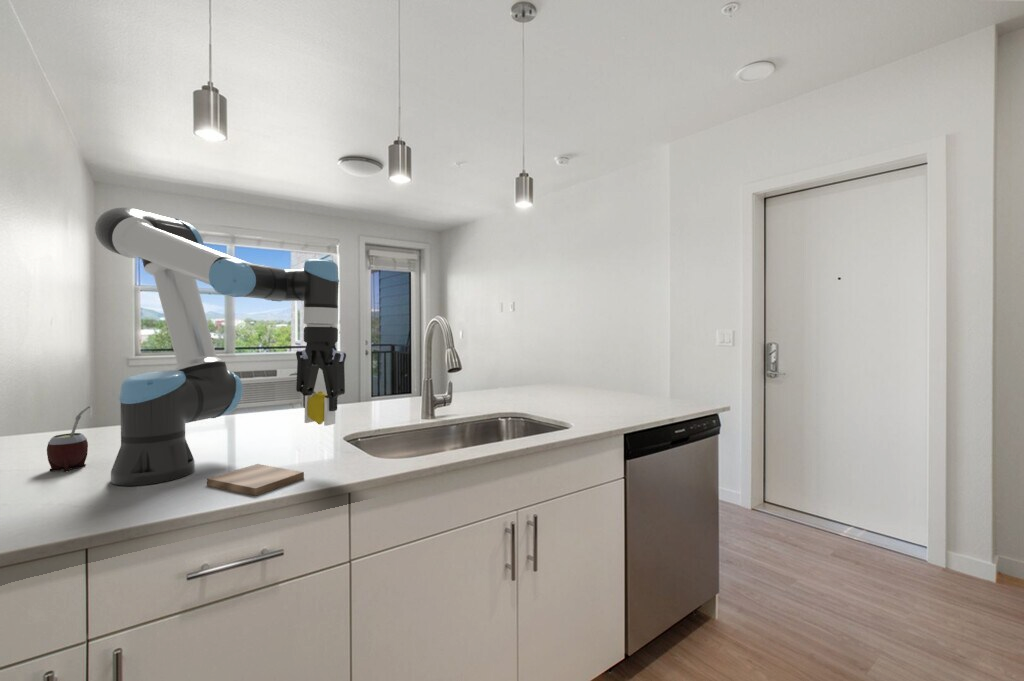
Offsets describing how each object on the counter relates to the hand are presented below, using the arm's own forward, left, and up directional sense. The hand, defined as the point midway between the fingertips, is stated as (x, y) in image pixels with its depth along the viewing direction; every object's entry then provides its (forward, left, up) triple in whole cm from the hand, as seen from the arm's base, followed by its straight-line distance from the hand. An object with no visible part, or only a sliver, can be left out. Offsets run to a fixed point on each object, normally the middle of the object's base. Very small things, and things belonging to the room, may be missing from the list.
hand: (319, 423), depth 111 cm
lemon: (0, 0, -1) cm, 1 cm away
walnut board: (-6, -12, -11) cm, 18 cm away
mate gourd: (-55, -24, -11) cm, 61 cm away
